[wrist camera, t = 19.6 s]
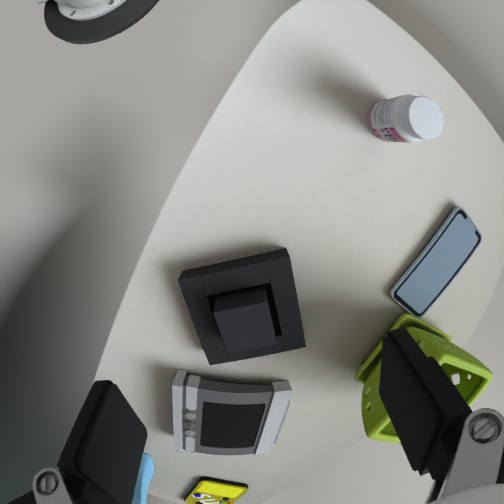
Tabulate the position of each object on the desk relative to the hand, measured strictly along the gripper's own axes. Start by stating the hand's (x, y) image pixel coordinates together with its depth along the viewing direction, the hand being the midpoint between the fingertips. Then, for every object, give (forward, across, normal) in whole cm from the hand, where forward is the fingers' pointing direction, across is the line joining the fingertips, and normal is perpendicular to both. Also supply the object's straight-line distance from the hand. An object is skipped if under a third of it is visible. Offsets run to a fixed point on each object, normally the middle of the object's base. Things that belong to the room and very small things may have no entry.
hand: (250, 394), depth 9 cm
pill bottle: (+25, -18, -7) cm, 31 cm away
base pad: (+24, +2, +11) cm, 27 cm away
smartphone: (+24, -24, +11) cm, 36 cm away
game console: (+23, +21, +61) cm, 68 cm away
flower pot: (+24, -18, +24) cm, 39 cm away
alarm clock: (+24, +9, +30) cm, 39 cm away
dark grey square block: (+23, +2, +11) cm, 26 cm away
